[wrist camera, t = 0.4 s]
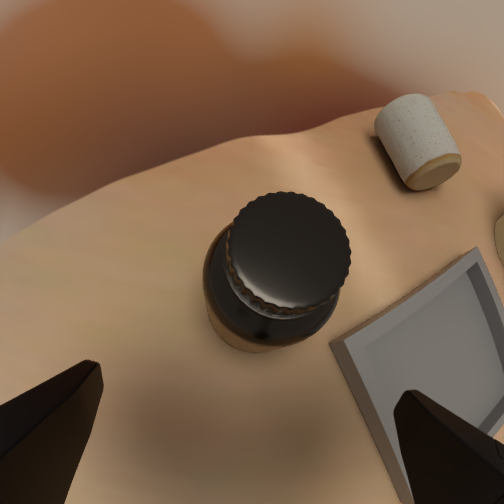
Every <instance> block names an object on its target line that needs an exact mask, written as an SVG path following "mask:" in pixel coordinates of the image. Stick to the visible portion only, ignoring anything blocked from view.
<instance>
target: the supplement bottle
mask: <svg viewBox="0 0 504 504" xmlns="http://www.w3.org/2000/svg"><path fill="white" fill-rule="evenodd" d="M350 255H351V249H350V247H349V239H348V237H347V236H346V230H345V229H344V228H343V227H342V226H341V222H340V220H339V219H338V218H336V217H335V216H334V214H333V212H332V211H331V210H329V209H327V208H326V207H325V205H324V204H322V203H320V202H317V201H316V200H315V199H314V198H312V197H307V196H306V195H304V194H296V193H294V192H287V193H286V192H281V191H280V192H277V193H268V194H266V195H265V196H259V197H257V198H256V200H254V201H251V202H249V203H248V204H247V206H246V207H244V208H242V209H241V210H240V212H239V215H238V216H237V217H235V218H234V219H233V222H232V223H230V224H229V225H227V226H226V227H225V228H224V229H223V230H222V231H221V232H220V233H219V234H218V235H217V236H216V238H215V239H214V241H213V242H212V244H211V245H210V247H209V249H208V252H207V254H206V257H205V261H204V266H203V289H204V295H205V301H206V306H207V311H208V316H209V319H210V322H211V324H212V326H213V328H214V330H215V331H216V333H217V334H218V335H219V337H220V338H221V339H222V340H224V341H225V342H226V343H227V344H229V345H230V346H232V347H234V348H236V349H239V350H242V351H246V352H266V351H271V350H274V349H278V348H282V347H286V346H290V345H293V344H296V343H299V342H301V341H303V340H305V339H307V338H308V337H310V336H312V335H313V334H315V333H316V332H317V331H318V330H320V329H321V328H322V327H323V326H324V324H325V323H326V322H327V321H328V319H329V318H330V317H331V315H332V313H333V311H334V309H335V307H336V305H337V302H338V299H339V295H340V288H341V287H342V286H343V285H344V281H345V278H346V277H347V276H348V274H349V266H350V264H351V259H350Z"/></svg>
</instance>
